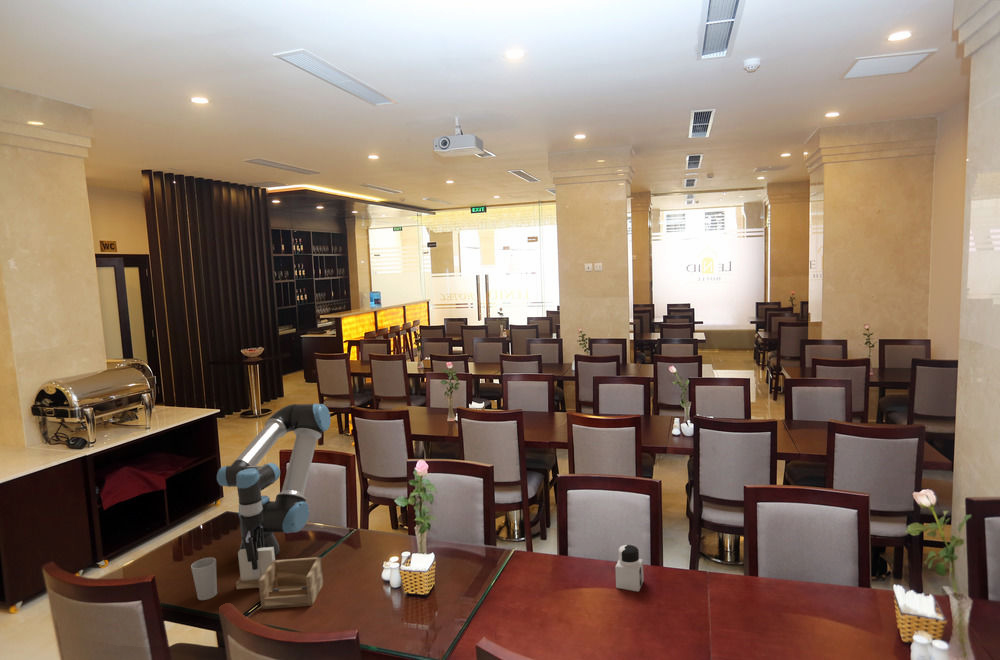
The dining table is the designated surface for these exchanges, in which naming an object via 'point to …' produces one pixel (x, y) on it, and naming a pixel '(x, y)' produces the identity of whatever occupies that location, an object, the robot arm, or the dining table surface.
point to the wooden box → (291, 583)
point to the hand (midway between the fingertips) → (258, 574)
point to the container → (629, 569)
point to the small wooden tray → (247, 584)
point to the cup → (205, 578)
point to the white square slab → (264, 557)
